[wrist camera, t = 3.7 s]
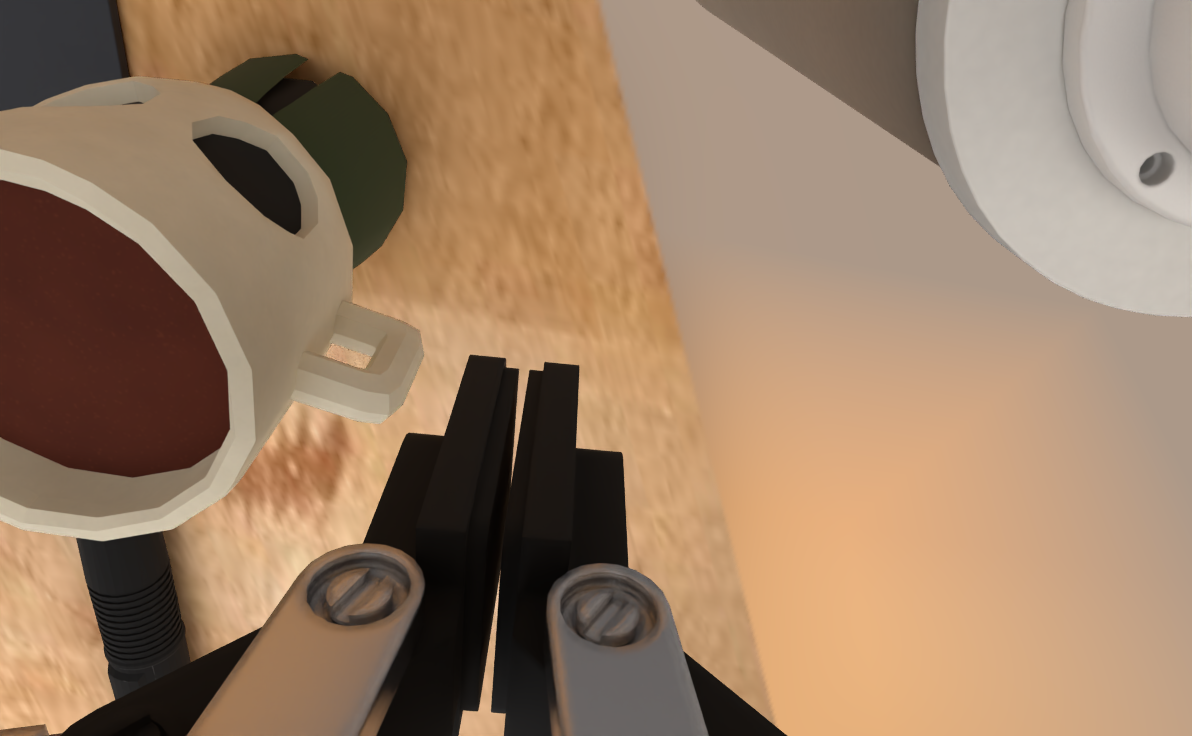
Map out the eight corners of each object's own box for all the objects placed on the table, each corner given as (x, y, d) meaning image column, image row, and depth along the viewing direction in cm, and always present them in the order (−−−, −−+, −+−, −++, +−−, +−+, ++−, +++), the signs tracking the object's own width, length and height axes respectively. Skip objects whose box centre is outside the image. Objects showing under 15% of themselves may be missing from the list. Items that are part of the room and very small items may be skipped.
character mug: (516, 120, 23) (429, 298, 11) (447, 321, 26) (324, 618, 15) (136, -37, 21) (-427, -10, 9) (112, 201, 24) (-329, 435, 13)
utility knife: (234, 806, 39) (207, 867, 37) (155, 799, 39) (122, 861, 37) (169, 467, 29) (125, 519, 26) (61, 456, 29) (6, 508, 26)
